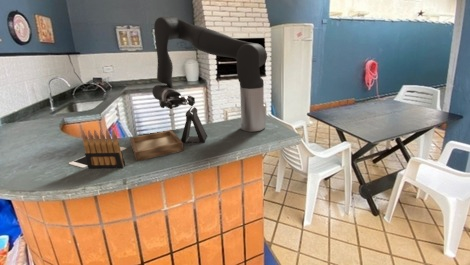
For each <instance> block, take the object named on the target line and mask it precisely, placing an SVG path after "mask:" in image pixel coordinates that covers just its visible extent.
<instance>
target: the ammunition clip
mask: <svg viewBox="0 0 470 265" xmlns="http://www.w3.org/2000/svg"><path fill="white" fill-rule="evenodd" d="M93 132H94V133H92V131H91V130H90V129H88V132H87V133H86V131H85V130H84V129H83V130H82V131H81V136H82V141H83V148H84V151H85V153H84V156H86V161H87V166H88V167H87V169H88V170H115V169H116V170H118V169H119V170H120V169H124V168H125V166H126V163H125V162H126V161H125V158H124V154H123V151H122V150H121V149H120V147H121V146H120V141H119V139H118V135H117V133H116V130H114V129H112V131H111V133H110V131H109V130H108V129H106V130H105V134H104V132H103V130H102V129H100V130H99V134H98V131H97V130H96V129H94V131H93Z"/></svg>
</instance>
